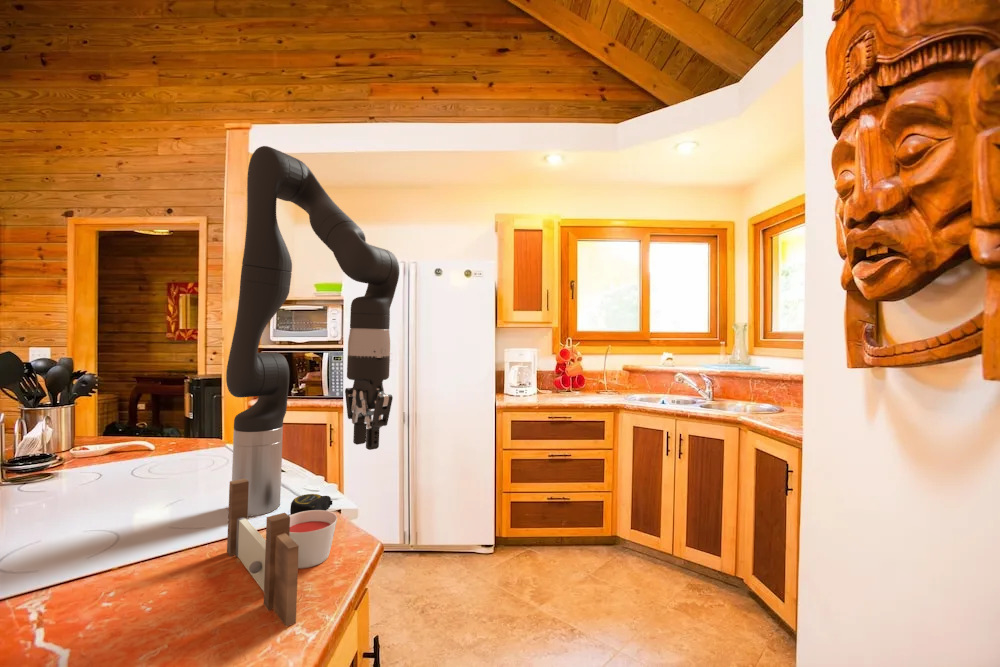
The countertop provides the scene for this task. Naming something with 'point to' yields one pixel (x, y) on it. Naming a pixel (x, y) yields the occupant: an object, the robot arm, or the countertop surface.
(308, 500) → the tape measure
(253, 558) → the door
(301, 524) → the candle
